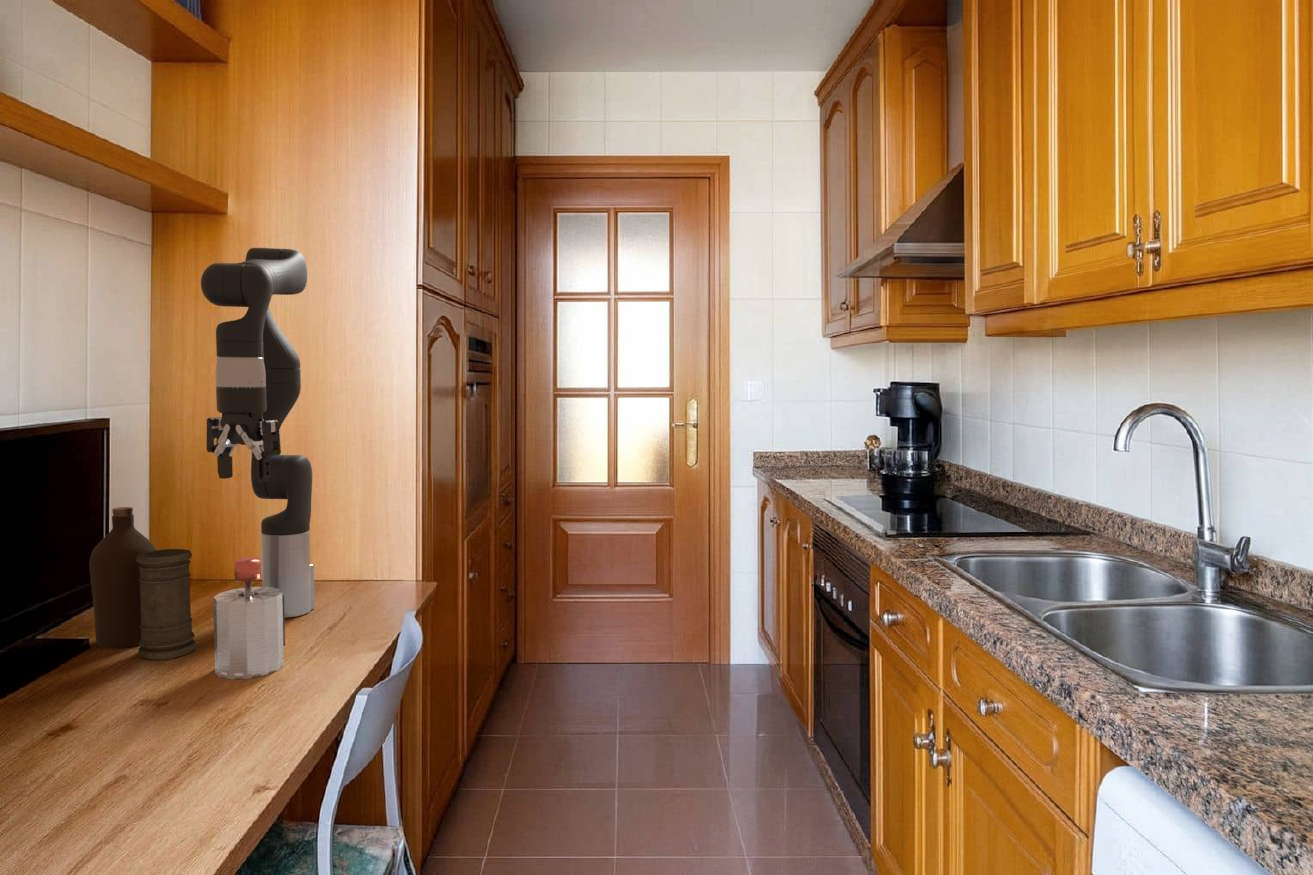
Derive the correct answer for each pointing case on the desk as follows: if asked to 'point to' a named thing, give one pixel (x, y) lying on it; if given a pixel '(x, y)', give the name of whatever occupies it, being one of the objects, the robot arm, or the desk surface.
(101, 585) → the olive oil
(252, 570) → the plunger
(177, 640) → the container
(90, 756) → the desk surface
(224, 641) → the press carafe
